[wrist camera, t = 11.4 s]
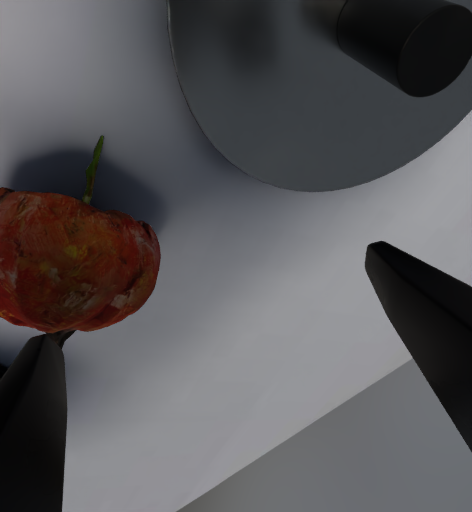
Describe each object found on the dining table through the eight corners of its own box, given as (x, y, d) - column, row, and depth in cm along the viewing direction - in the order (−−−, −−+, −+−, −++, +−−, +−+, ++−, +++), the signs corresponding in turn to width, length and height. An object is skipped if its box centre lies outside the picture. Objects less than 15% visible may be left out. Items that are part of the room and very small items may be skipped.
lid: (534, 73, 19) (643, 117, 15) (270, 227, 22) (303, 297, 18) (571, -522, 9) (952, -883, 5) (63, -77, 12) (34, -68, 8)
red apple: (2, 107, 17) (-74, 321, 16) (33, 68, 11) (-82, 394, 11) (148, 173, 22) (92, 341, 21) (222, 170, 16) (149, 400, 15)
